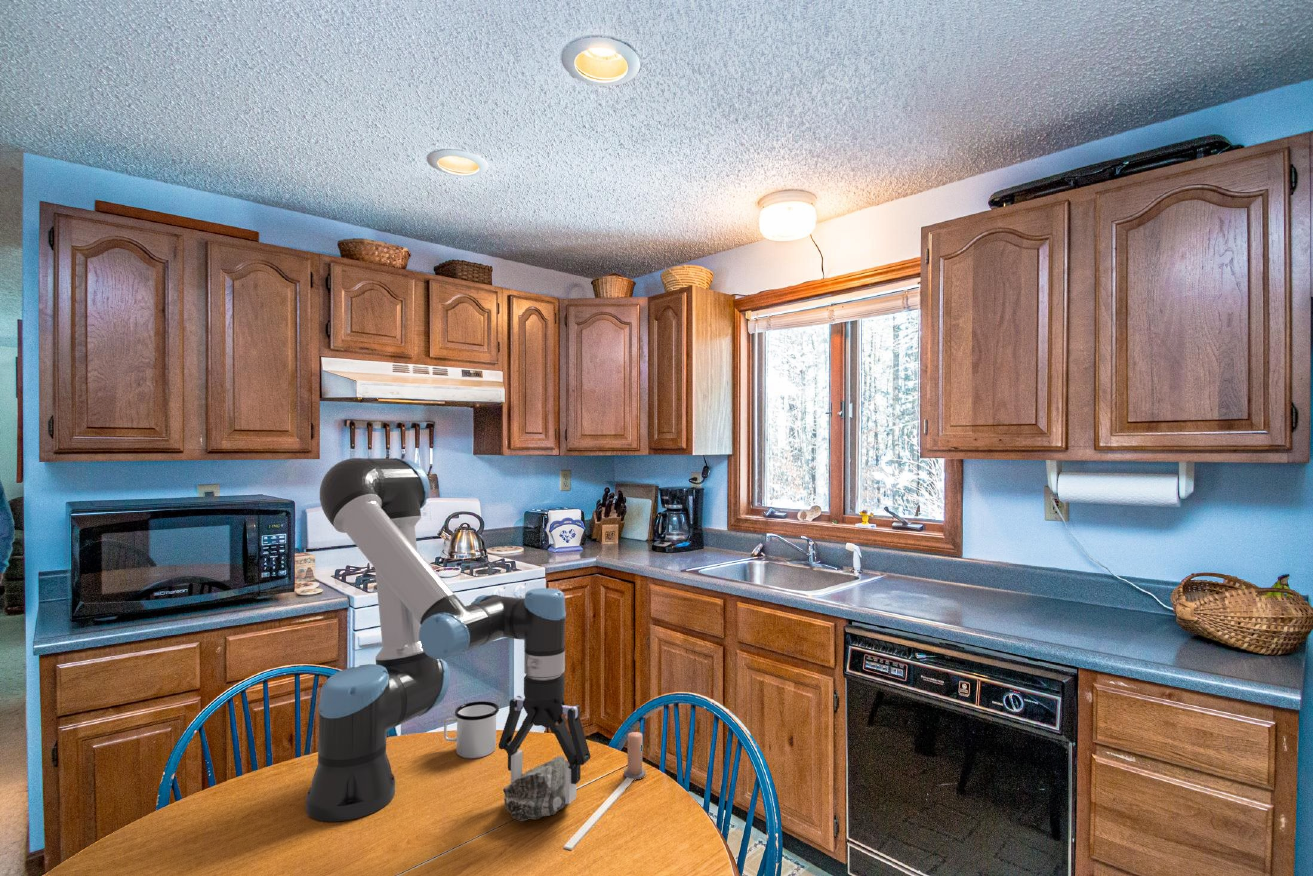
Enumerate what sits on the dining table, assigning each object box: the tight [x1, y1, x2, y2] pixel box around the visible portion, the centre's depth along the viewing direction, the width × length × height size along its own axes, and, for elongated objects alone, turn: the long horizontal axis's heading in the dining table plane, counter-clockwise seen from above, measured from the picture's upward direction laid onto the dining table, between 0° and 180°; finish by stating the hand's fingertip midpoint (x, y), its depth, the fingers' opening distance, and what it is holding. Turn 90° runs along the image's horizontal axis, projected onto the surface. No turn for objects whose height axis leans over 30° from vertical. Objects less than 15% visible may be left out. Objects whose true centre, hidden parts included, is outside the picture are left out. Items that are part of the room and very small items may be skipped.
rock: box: [502, 755, 569, 822], centre depth 120 cm, size 18×10×10 cm
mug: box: [443, 700, 500, 759], centre depth 143 cm, size 12×10×9 cm
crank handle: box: [563, 731, 647, 851], centre depth 120 cm, size 4×30×8 cm, turn 158°
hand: (543, 794), depth 120 cm, fingers closed on rock, 11 cm apart
